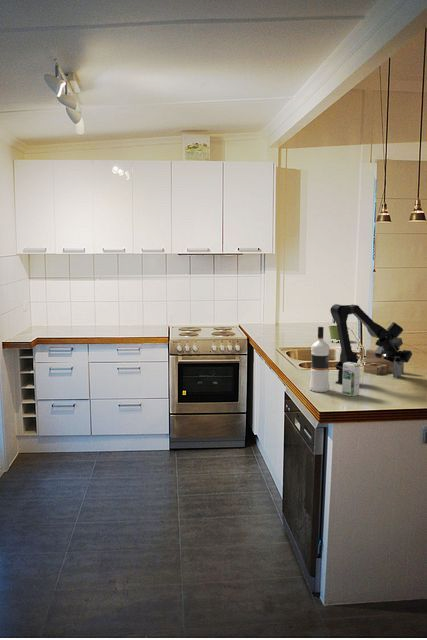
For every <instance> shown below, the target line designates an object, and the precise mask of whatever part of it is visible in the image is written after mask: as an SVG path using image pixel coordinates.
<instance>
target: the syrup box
mask: <svg viewBox="0 0 427 640" xmlns="http://www.w3.org/2000/svg"><path fill="white" fill-rule="evenodd" d="M360 371H361V363H358V362H357V363H351V362H346V363H343V381H342V384H341V386H342V387H341V395H345V396H348V397H356V396H358V395H359V394H360V379H361V378H360V377H361V376H360V373H361V372H360Z"/></svg>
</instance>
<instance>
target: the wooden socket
mask: <svg viewBox="0 0 427 640" xmlns="http://www.w3.org/2000/svg"><path fill="white" fill-rule="evenodd" d="M376 350H377V349H376ZM376 350H375V349H369V348H367V349H365V364H363V370H362V371H363V373H365V374H370V375H373V376H374V375H375V376H378V375H379V376H380V375H382V374H387V373H392V374H393V363H392V362H390V361H388V360H385V359H384V356H383V354H382V355H381V356H382V357H381V358H377V357H376V356H375V352H376ZM404 366H405V362H402V373H401V375H403V374H404V370H405V369H404V368H405V367H404Z"/></svg>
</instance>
